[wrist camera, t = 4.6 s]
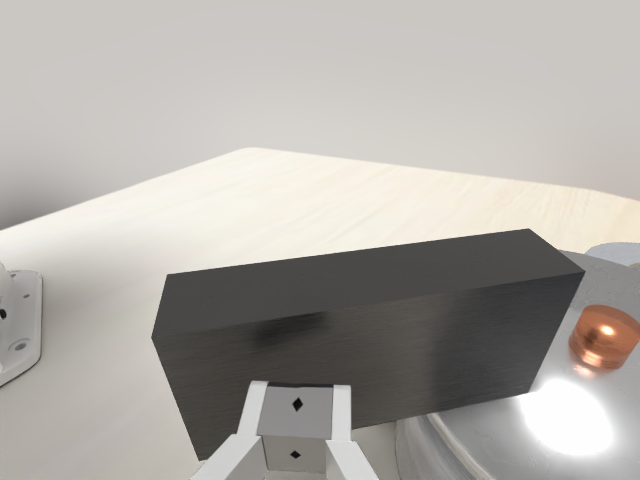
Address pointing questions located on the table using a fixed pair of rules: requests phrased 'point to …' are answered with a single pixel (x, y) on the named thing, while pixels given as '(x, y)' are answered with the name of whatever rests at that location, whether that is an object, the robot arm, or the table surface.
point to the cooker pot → (425, 453)
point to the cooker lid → (426, 348)
